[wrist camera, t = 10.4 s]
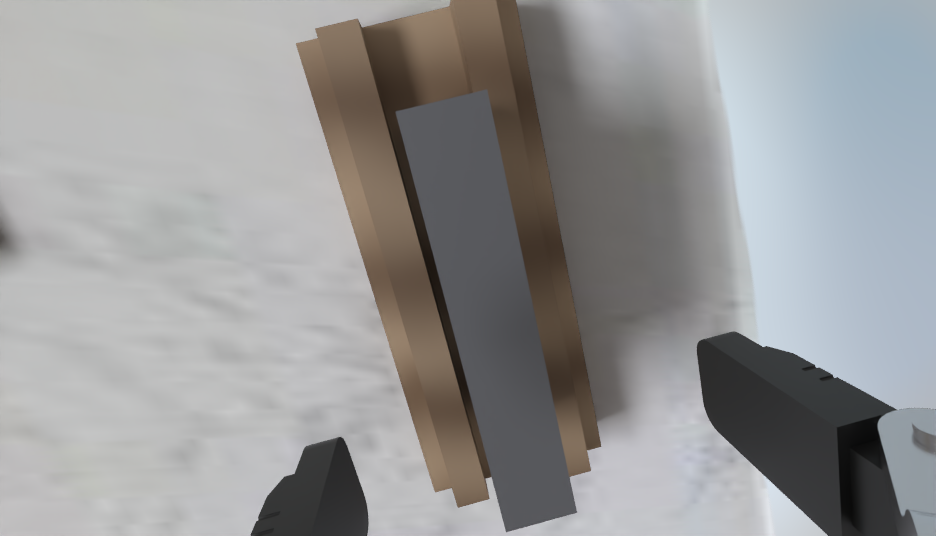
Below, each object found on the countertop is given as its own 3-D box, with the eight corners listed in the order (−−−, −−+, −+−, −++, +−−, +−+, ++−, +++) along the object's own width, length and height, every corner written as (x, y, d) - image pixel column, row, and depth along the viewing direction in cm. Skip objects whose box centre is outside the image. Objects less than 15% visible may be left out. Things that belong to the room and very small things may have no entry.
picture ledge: (588, 425, 27) (612, 465, 24) (433, 467, 27) (436, 513, 24) (505, 4, 22) (521, -22, 18) (306, 52, 21) (285, 35, 18)
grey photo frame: (526, 395, 24) (577, 512, 17) (478, 408, 24) (506, 532, 17) (461, 108, 21) (487, 89, 13) (403, 122, 21) (395, 111, 13)
